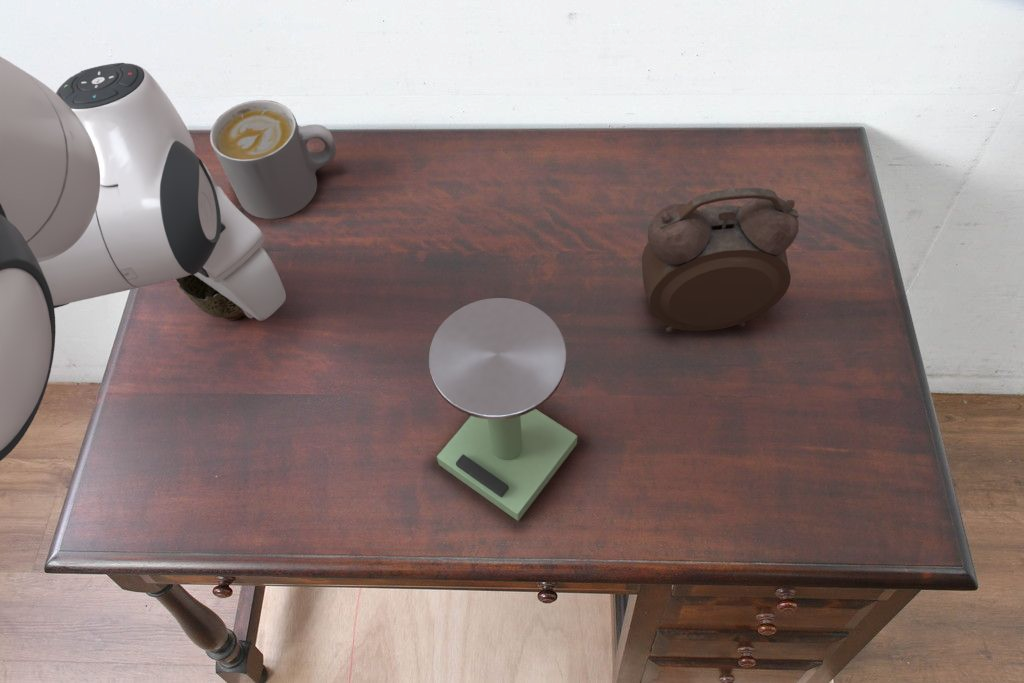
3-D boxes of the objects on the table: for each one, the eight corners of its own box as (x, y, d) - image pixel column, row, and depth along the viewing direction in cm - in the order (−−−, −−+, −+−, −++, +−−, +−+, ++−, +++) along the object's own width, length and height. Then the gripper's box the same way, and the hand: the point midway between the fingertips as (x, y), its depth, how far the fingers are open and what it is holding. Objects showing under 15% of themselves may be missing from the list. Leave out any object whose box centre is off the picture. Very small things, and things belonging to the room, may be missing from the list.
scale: (518, 521, 77) (511, 447, 62) (438, 464, 80) (413, 381, 65) (577, 444, 81) (583, 357, 66) (498, 393, 84) (487, 299, 69)
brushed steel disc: (512, 451, 61) (511, 443, 59) (403, 378, 64) (400, 368, 63) (592, 350, 65) (593, 340, 64) (486, 287, 69) (485, 276, 67)
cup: (192, 330, 90) (162, 289, 83) (219, 278, 93) (193, 234, 86) (252, 342, 88) (228, 301, 82) (278, 289, 92) (256, 246, 85)
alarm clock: (756, 280, 90) (805, 153, 73) (772, 334, 86) (827, 213, 69) (628, 291, 90) (647, 165, 73) (638, 345, 86) (661, 226, 69)
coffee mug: (235, 222, 98) (205, 165, 89) (241, 163, 103) (214, 103, 94) (343, 212, 98) (324, 153, 89) (345, 153, 103) (326, 93, 95)
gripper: (84, 185, 79) (144, 269, 91) (223, 283, 72) (269, 359, 84) (134, 147, 81) (186, 233, 93) (274, 237, 74) (311, 318, 86)
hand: (227, 293), depth 88 cm, fingers closed on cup, 7 cm apart
